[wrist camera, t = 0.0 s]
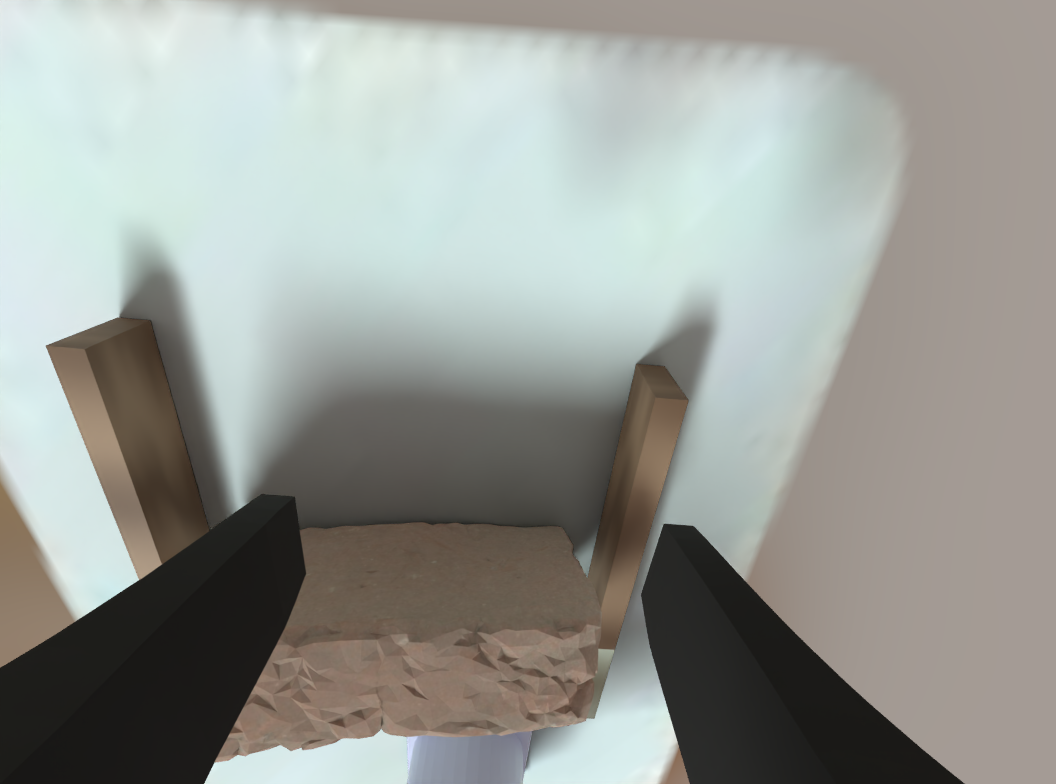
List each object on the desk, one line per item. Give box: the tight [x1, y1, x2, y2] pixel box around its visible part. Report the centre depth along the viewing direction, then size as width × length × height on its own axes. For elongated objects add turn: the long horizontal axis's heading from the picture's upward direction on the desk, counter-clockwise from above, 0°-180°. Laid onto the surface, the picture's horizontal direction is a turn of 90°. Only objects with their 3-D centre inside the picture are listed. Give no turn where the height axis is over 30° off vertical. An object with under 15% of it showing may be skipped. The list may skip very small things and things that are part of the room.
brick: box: [215, 522, 602, 762], centre depth 19 cm, size 17×8×5 cm
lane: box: [46, 318, 689, 719], centre depth 21 cm, size 20×22×3 cm
